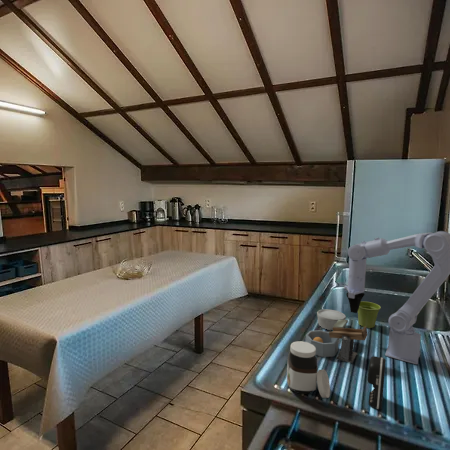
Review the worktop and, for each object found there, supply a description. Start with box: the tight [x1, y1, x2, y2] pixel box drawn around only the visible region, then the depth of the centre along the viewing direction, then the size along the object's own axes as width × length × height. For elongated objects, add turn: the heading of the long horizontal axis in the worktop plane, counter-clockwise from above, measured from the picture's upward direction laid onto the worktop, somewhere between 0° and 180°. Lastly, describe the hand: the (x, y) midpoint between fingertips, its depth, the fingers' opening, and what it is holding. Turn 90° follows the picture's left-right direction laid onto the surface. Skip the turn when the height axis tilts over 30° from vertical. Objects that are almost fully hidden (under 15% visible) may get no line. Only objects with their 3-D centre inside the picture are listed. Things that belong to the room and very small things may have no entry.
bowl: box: [304, 329, 340, 358], centre depth 112 cm, size 10×10×4 cm
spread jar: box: [286, 340, 331, 399], centre depth 89 cm, size 12×11×12 cm
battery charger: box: [366, 355, 386, 410], centre depth 85 cm, size 7×4×11 cm, turn 152°
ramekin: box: [316, 308, 347, 331], centre depth 132 cm, size 11×11×5 cm
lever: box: [328, 319, 368, 341], centre depth 112 cm, size 12×16×3 cm
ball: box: [313, 337, 323, 343], centre depth 113 cm, size 4×4×4 cm
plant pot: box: [357, 300, 382, 329], centre depth 134 cm, size 9×9×9 cm
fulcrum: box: [335, 335, 358, 364], centre depth 108 cm, size 5×8×8 cm, turn 146°
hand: (354, 312), depth 120 cm, fingers closed
